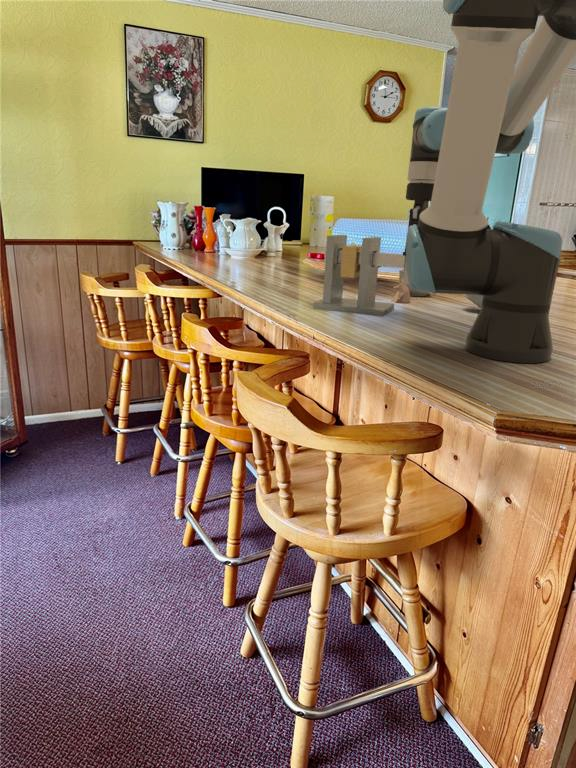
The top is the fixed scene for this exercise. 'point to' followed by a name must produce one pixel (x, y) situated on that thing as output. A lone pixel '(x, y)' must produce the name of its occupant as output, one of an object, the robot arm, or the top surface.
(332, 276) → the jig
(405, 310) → the top surface
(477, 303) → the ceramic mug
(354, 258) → the tan block
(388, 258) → the shaft
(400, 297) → the mouse figurine
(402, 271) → the teacup
